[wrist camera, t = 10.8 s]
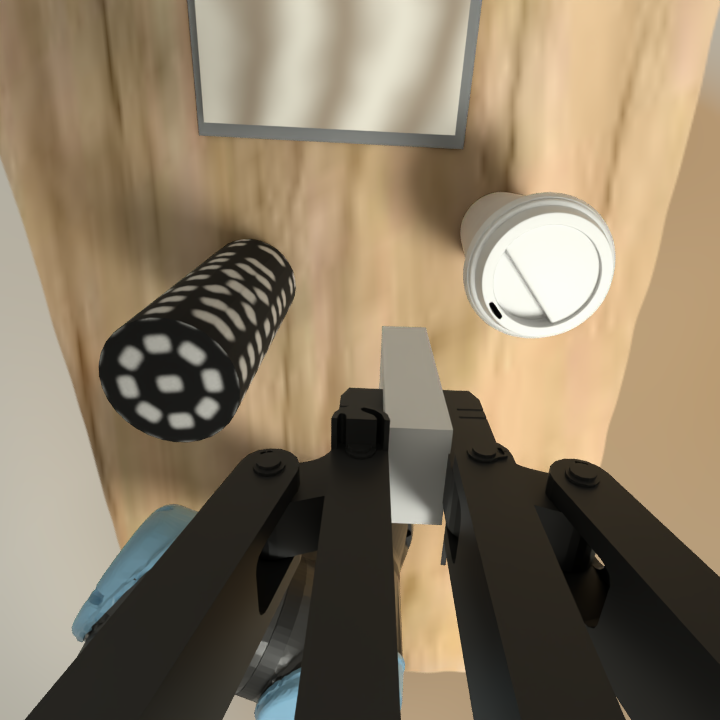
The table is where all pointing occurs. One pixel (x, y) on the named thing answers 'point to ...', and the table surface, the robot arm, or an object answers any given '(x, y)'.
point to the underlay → (346, 135)
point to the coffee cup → (535, 262)
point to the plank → (333, 63)
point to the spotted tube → (199, 344)
